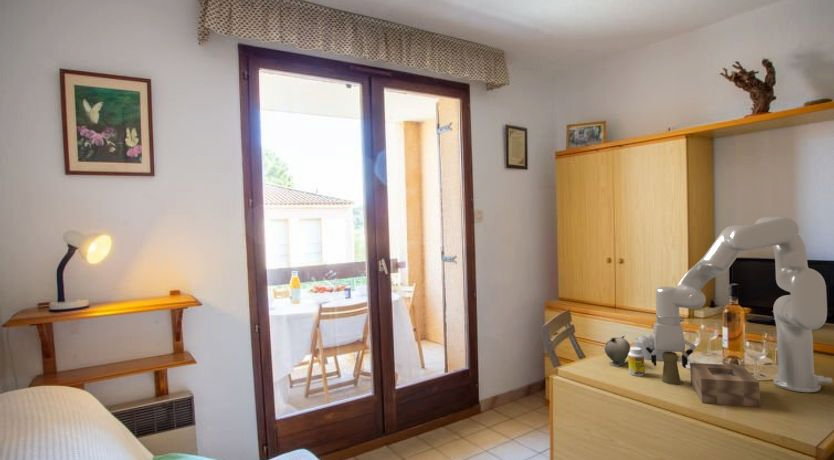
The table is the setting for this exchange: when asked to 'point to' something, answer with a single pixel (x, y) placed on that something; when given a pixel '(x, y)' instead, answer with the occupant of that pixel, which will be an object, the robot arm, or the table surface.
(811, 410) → the table surface
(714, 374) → the gray square plate
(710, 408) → the table surface
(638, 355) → the supplement bottle
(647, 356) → the white egg tray
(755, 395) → the brown square frame
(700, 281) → the robot arm
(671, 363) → the olive pear shape
